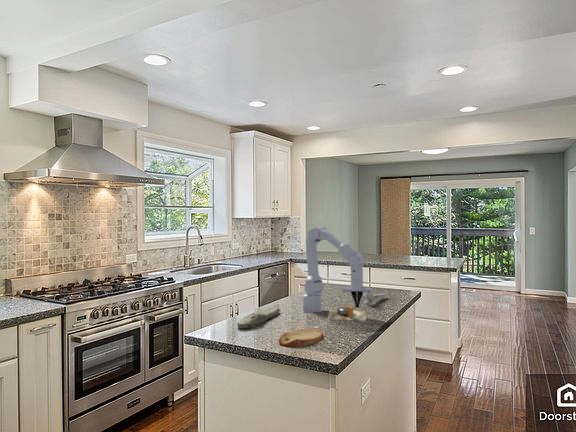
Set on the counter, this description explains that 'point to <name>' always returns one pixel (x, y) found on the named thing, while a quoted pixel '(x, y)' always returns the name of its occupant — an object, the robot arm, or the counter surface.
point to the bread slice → (300, 337)
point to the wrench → (372, 297)
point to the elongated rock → (257, 318)
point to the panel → (356, 314)
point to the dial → (345, 311)
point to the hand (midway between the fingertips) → (357, 307)
